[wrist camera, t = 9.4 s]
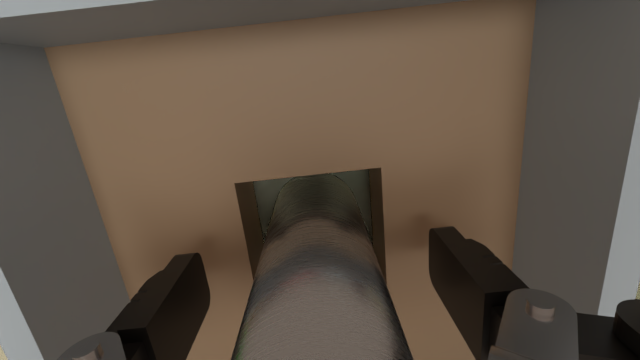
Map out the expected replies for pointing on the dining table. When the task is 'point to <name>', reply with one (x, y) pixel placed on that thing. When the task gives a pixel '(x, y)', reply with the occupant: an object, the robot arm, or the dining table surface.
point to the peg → (319, 283)
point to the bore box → (310, 149)
